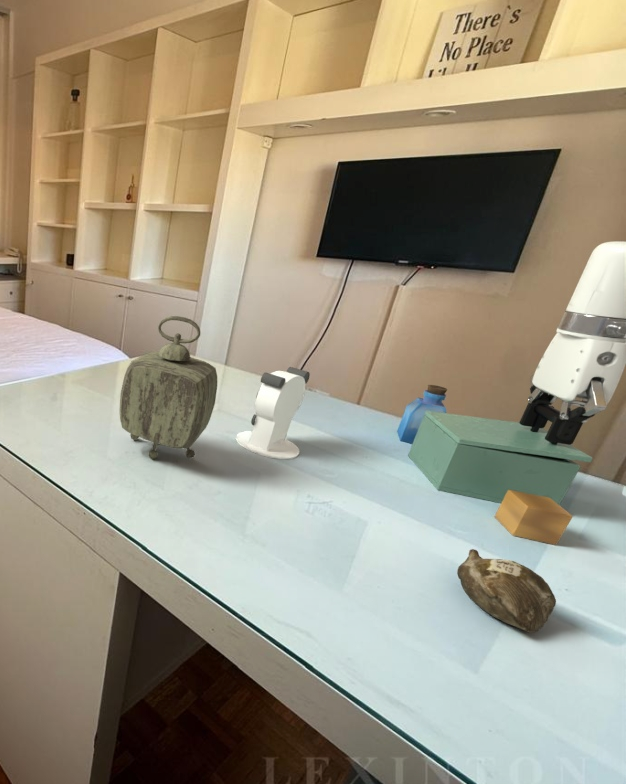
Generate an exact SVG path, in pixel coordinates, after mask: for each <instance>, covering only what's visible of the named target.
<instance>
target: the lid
mask: <svg viewBox="0 0 626 784" xmlns="http://www.w3.org/2000/svg"><path fill="white" fill-rule="evenodd" d="M551 406H552V405H547V404H538V405H536V406H535V407H534V412H535V413H536V414H537V416H536V418H535V420H534V423H533V425H532V427H529V426H523V425H521V424H520V423H519V422H520V421H511V420H502V419H495V418H489V417H488V418H486V417H480V416H479V417H478V416H470V415H464V414H456V413H448V412H447V413H440V412H432V411H426V412H425V415H426V416H427V417H428V418H429V419H430V420H432V421H433V422H434V423H435V424H436V425H437V426H439V427H440V428H441V429H442V430H443V431H444V432H446V433H447V434H448V435H449V436H450V437H451V438H453V439H454V440H455V441H456V442H457V443H458V444H465V445H472V446H479V447H486V448H493V449H500V450H507V451H514V452H521V453H528V454H535V455H542V456H549V457H556V458H563V459H570V460H572V461H578V462H585V463H591V462H592V460H593V458H594V457H592V456H591V455H589V454H587V453H585V452H584V451H582V450H580V449H578V448H577V447H575V446H573V445H572V444H571V445H568V444H561V443H555V442H549V441H547V440H545V437H546V434H547V432H548V430H547V429H545V428H540V426H541V424H542V421H543V419H544V418H545V419H547V420H548V422H551V423H552V422H553V420H554V418H555V417H558V418H560V410H559V409H557V408H555V407H554V406H553V407H554V408H553V407H551Z"/></svg>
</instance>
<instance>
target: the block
mask: <svg viewBox="0 0 626 784" xmlns="http://www.w3.org/2000/svg"><path fill="white" fill-rule="evenodd" d="M573 517H574V516H573V515H572V514H571V513H570V512H568V511H567V510H566V509H565V508H563V507H562V506H561V505H558V504H557V503H556V502H554V501H553V500H552V499H551V498H548V497H543V496H538V495H533V494H528V493H523V492H518V491H513V490H508V491H507V493H506V495H505V497H504V499H503V501H502V503H500V505H499V507H498V509H497V511H496V513H495V515H494V519H496V520H497V522H499V524H501V526H503V527H504V528H505V530H506V531H508V532H509V533H510V534H511V536H513V537H518V538H521V539H527V540H531V541H535V542H540V543H545V544H549V545H554V546H557V544H558V543H559V541H560V539H561V538H562V536H563V534H564V532H565V531H566V529H567V527H568V526H569V524H570V522H571V520H572V519H573Z"/></svg>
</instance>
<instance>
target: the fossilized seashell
mask: <svg viewBox="0 0 626 784" xmlns="http://www.w3.org/2000/svg"><path fill="white" fill-rule="evenodd" d="M456 572H457V573H456V574H457V577H458V579H459V580H460V585H461V587H462V589H463V591H464V593H465V594H466V596H467V597H468V598H469V599H470V600H471V601H472V602H473V603H475V604H476V605H477V606H478V607H479V608H481V609H482V610H483V611H484V612H486V613H487V614H489V615H491V617H494V618H496V619H497V620H500V621H502V623H505V624H508V625H510V626H513V627H515V628H518V629H520V630H523V631H526V632H528V633H535V632H538V631H539V630H541V629H543V627H544V626H545V624H546V623H548V621H549V617H550V616H551V615H552V612H553V611H554V609H555V607H556V604H557V599H556V597H555V594H554V593H553V591H552V589H551V587H550V585H549V583H548V582H546V581H545V579H544V578H543V577H542V576H541V575H539V574H538V573H536V572H535V571H534V570H532V569H531V568H529V567H527V566H525V565H523V564H521V563H519V562H517V561H514V560H511V559H503V558H483V557H482V556H480V553H479V551H478V550H477V549H474V548H471V549H469V552H468V556H467V558H466V559H465V560H464V561H463V562H462V563H460V565H459V566H458V567H457V571H456Z"/></svg>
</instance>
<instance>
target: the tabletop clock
mask: <svg viewBox="0 0 626 784" xmlns="http://www.w3.org/2000/svg"><path fill="white" fill-rule="evenodd" d="M169 321H178V322H183V323H186V324H189V325H192V326H193V327H194V329H195V330H196V332H197V333H196V336H195V337H193V338H187V339H184V338H182V335H181V334H180V333H175V334H174V337H173V336H170V335H168V334H166V333H164V332H163V331H162V326H163V324H165V323H167V322H169ZM157 330H158V333H159V334H160V336H161V337H162V338H164V339H165V340H167V341H169V343H166V344H165V345H164V346H162V347H161V348H160V350H158V351H151V352H147V353H145V354H143V355H140V356H139V357H137V358H135V359H133V360H131V361H130V363H129V365H128V366H127V368H126V371H125V373H124V377H123V381H122V386H121V389H120V396H119V397H120V399H119V420H120V425H121V428H122V429H123V430H124V431H125V432H127V433H129V434H130V439H131V440H133V441H137V440H139V438H141V439H143V440H146V441H148V442H151V443H153V444H152V449H151V450H149V451H148V453H147V457H148V458H149V459H151V460H155V459H157V458H158V452H157V447H158V445H161V446H166V447H169V448H175V449H183V450H184V449H185V450H186V451H185V456H186V458H188V459H192V458H194V457H195V456H196V452H195V450H194V449H192V448H191V447H192V446H193V445H194V443H195V442H197V439H198V438H199V437H200V436H201V435H202V434H203V432H204V431H205V430H206V429H207V427H208V424H209V422H210V421H211V417H212V414H213V412H214V408H215V405H216V400H217V399H216V398H217V390H218V373H217V369H216V367H215V366H213V365H212V364H210V363H209V362H206V361H205V360H202V359H198V358H195V357H192V356H191V354H190V351H189V349H188V348H187V347H186V346H185V345H184V344H190V343H193V342H196V341H198V339H199V338H200V337H201V329H200V326H199V325H198V323H197V322H196V321H194V320H193V319H191V318H188V317H184V316H178V315H171V316H167V317H165V318H163V319H161V320H160V322H159V324H158V325H157Z"/></svg>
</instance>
